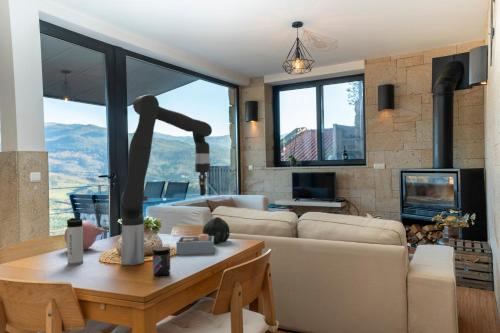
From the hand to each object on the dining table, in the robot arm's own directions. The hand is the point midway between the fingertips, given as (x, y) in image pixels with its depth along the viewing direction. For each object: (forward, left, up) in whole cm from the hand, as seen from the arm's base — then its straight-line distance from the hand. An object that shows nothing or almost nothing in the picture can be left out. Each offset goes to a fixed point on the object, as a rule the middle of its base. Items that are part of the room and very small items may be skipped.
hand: (203, 194), depth 183 cm
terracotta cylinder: (0, 0, -27) cm, 27 cm away
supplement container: (-14, -40, -28) cm, 51 cm away
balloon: (-62, +10, -28) cm, 69 cm away
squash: (+6, +20, -28) cm, 35 cm away
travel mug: (-56, -18, -28) cm, 65 cm away
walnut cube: (-8, 0, -27) cm, 28 cm away
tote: (-4, 0, -28) cm, 28 cm away
